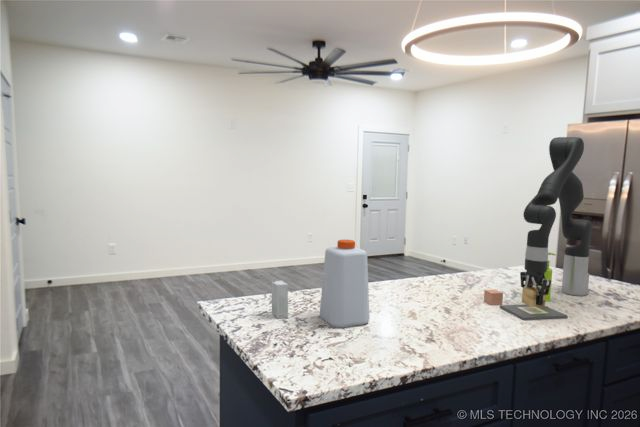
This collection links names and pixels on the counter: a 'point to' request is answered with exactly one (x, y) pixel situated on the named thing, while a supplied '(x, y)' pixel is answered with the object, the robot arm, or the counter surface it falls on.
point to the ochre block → (531, 297)
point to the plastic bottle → (345, 286)
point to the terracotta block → (493, 297)
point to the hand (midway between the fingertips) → (533, 302)
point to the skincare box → (279, 299)
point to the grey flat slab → (533, 312)
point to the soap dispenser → (548, 278)
